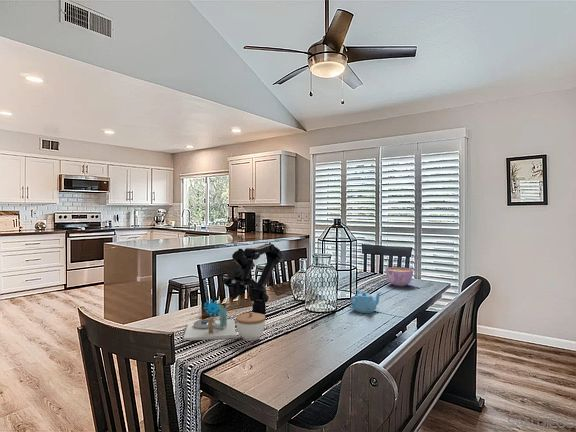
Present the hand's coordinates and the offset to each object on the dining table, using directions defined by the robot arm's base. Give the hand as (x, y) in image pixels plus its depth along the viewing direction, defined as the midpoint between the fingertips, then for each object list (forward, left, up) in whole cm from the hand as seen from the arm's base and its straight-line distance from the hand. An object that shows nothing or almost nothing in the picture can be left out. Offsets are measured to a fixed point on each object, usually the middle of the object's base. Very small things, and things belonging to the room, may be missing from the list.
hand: (233, 299), depth 173 cm
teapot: (-72, -13, -13) cm, 74 cm away
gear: (+10, -19, -13) cm, 25 cm away
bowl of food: (-120, -70, -13) cm, 140 cm away
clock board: (+10, +6, -13) cm, 17 cm away
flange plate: (+11, +4, -11) cm, 16 cm away
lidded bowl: (-7, +18, -13) cm, 23 cm away
